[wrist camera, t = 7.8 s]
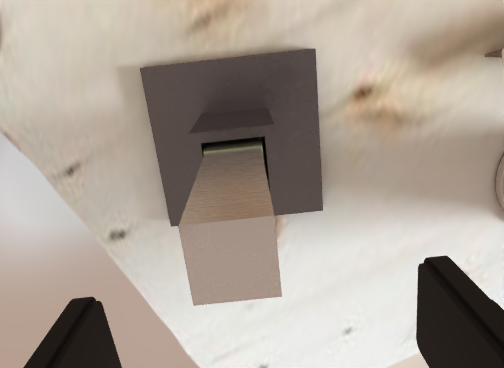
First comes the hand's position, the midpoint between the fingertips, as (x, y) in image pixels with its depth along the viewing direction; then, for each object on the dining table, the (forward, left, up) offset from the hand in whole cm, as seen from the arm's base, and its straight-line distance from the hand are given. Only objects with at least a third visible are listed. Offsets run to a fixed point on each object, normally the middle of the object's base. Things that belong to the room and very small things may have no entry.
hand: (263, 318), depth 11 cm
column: (+1, +1, -21) cm, 21 cm away
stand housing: (+1, +1, -28) cm, 28 cm away
